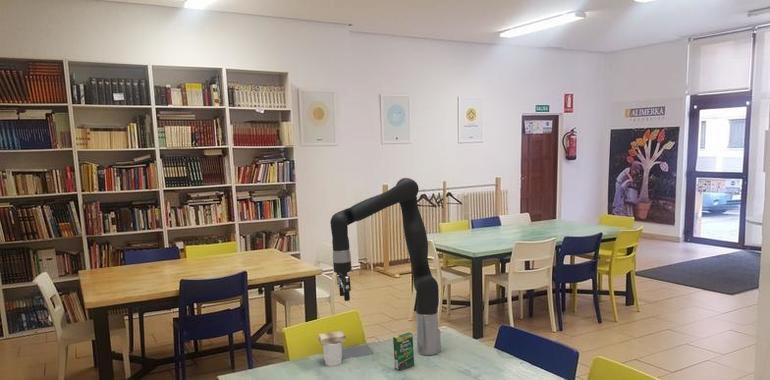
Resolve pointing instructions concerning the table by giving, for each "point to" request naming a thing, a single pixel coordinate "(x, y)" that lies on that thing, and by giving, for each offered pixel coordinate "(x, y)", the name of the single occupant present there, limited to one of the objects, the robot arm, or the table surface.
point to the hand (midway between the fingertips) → (344, 298)
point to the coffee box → (403, 351)
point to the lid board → (332, 338)
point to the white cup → (333, 354)
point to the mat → (356, 351)
